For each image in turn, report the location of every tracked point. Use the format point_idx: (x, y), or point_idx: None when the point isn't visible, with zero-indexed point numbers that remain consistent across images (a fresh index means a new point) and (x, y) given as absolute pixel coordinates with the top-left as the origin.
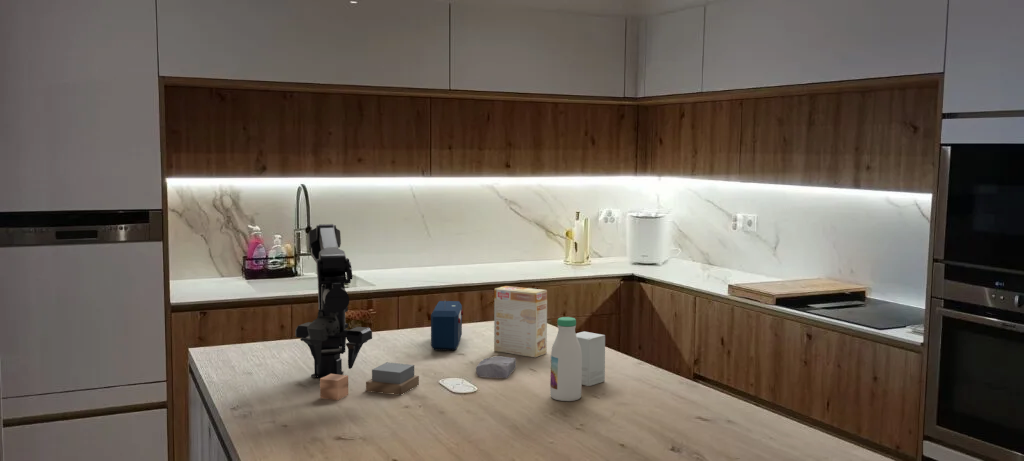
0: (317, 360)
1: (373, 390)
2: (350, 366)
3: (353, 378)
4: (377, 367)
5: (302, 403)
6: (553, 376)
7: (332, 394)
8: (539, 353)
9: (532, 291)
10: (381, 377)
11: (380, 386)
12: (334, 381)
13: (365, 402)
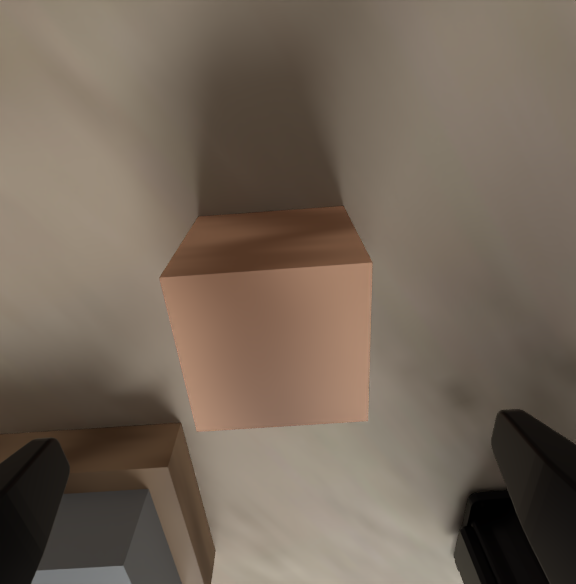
0: (533, 459)
1: (132, 432)
2: (8, 461)
3: (373, 533)
4: None
5: (399, 14)
6: None
7: (238, 225)
8: None
9: None
10: (69, 520)
11: (75, 458)
12: (198, 269)
13: (4, 255)
